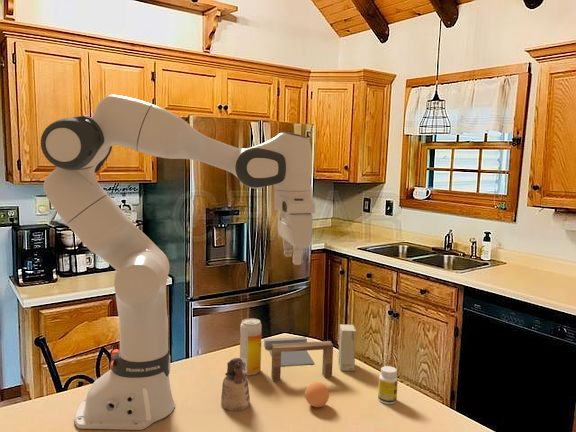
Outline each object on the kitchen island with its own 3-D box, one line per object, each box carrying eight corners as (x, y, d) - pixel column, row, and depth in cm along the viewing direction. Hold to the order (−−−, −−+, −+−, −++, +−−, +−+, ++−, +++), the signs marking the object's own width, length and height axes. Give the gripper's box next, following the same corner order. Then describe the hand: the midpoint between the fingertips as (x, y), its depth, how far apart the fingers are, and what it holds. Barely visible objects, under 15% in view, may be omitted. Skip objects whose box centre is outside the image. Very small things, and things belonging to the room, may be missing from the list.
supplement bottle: (396, 405, 119) (398, 374, 118) (377, 403, 120) (379, 372, 119) (396, 396, 124) (398, 366, 123) (378, 394, 125) (379, 364, 124)
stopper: (265, 348, 154) (265, 341, 153) (264, 346, 156) (264, 338, 155) (306, 346, 157) (306, 339, 156) (305, 344, 159) (305, 336, 158)
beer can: (264, 370, 138) (265, 320, 136) (252, 377, 133) (253, 326, 131) (248, 365, 141) (249, 316, 139) (235, 372, 136) (236, 322, 134)
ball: (308, 412, 115) (308, 389, 114) (302, 400, 121) (303, 378, 120) (331, 410, 116) (332, 387, 115) (324, 399, 122) (325, 376, 121)
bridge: (331, 377, 134) (333, 344, 133) (273, 381, 131) (274, 348, 129) (328, 373, 137) (330, 341, 136) (271, 376, 133) (272, 343, 132)
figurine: (246, 395, 122) (246, 351, 121) (252, 409, 116) (253, 362, 114) (218, 399, 120) (219, 354, 119) (224, 413, 113) (224, 365, 112)
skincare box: (354, 371, 139) (356, 331, 137) (339, 371, 139) (341, 331, 137) (352, 362, 145) (353, 324, 144) (337, 362, 145) (339, 323, 144)
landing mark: (275, 366, 140) (275, 365, 140) (269, 350, 152) (269, 350, 152) (314, 364, 143) (314, 363, 143) (305, 348, 154) (305, 348, 154)
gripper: (271, 199, 120) (271, 252, 122) (289, 206, 101) (288, 269, 102) (295, 199, 122) (295, 251, 123) (317, 206, 102) (316, 268, 104)
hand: (292, 260), depth 113 cm, fingers open, 8 cm apart
